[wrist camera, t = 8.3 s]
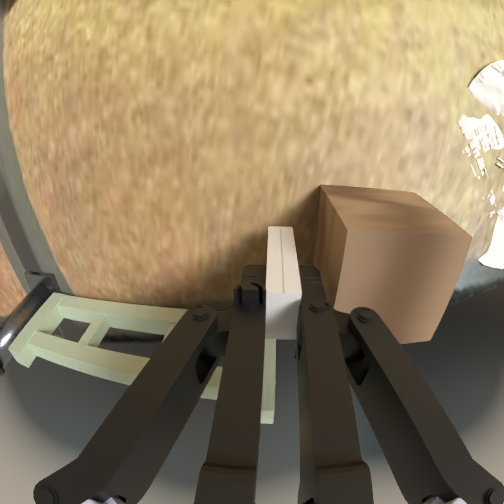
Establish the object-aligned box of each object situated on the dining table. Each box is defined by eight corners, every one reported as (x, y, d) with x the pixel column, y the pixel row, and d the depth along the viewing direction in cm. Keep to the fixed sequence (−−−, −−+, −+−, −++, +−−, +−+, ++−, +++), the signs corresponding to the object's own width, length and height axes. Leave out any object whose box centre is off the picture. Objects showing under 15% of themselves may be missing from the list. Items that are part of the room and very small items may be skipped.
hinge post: (42, 306, 25) (-9, 374, 15) (27, 270, 22) (-36, 338, 12) (69, 312, 25) (15, 391, 14) (53, 273, 22) (-15, 352, 12)
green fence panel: (59, 306, 23) (17, 362, 15) (53, 292, 22) (7, 348, 15) (274, 329, 21) (272, 423, 14) (275, 312, 21) (274, 410, 13)
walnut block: (311, 277, 20) (324, 348, 14) (320, 184, 17) (347, 230, 11) (395, 277, 20) (430, 340, 13) (415, 192, 16) (472, 237, 10)
